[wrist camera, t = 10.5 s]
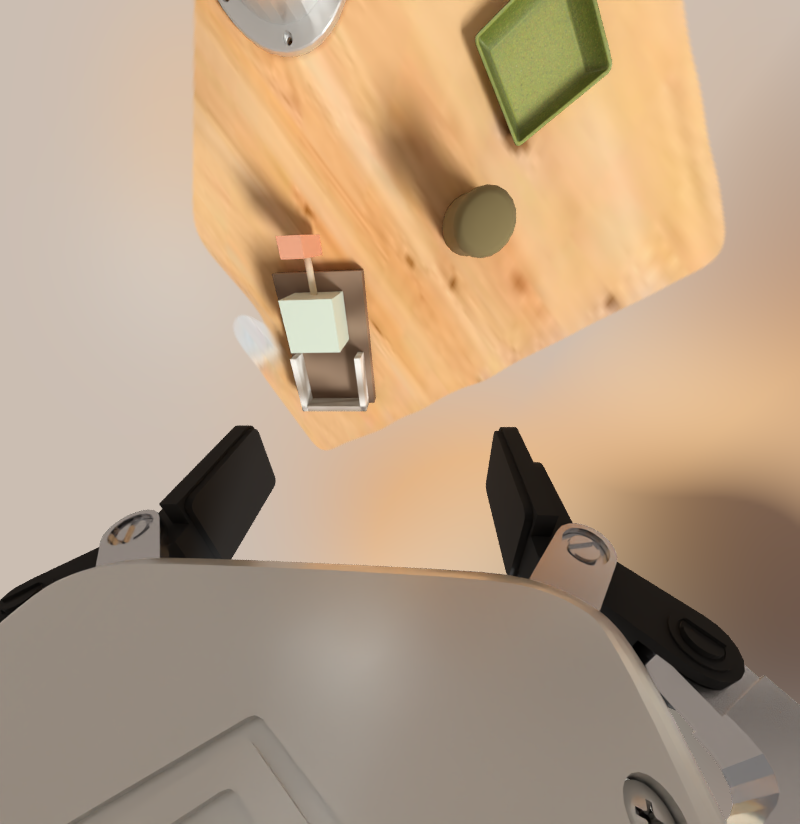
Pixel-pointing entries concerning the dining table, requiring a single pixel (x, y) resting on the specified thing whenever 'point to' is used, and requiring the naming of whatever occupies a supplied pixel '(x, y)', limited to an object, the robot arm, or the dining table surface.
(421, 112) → the dining table surface
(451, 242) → the cork
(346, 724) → the robot arm
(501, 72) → the green tray
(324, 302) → the joined block piece
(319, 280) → the shelf
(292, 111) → the dining table surface
